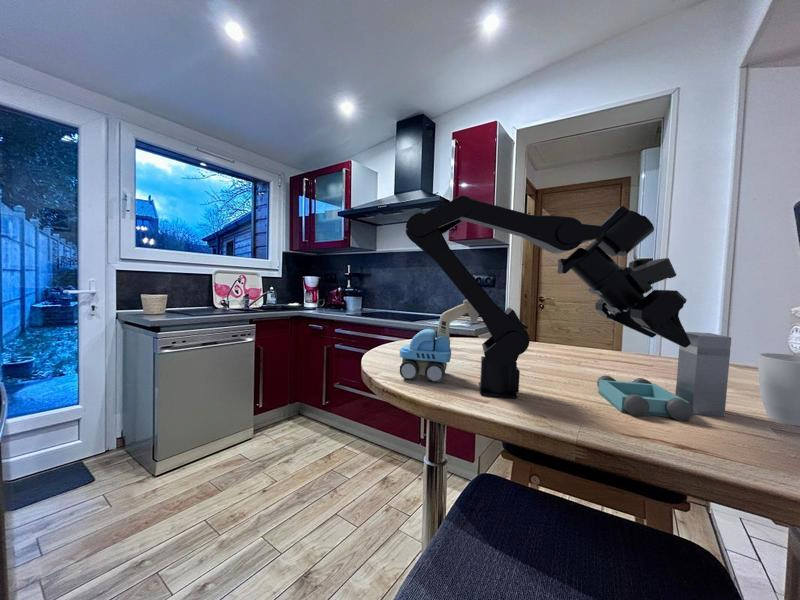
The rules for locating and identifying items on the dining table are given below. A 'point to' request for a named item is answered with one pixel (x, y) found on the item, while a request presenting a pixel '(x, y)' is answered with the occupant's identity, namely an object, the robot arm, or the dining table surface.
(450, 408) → the dining table surface
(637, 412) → the chassis
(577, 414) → the dining table surface
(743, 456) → the dining table surface
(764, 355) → the cup
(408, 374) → the toy excavator
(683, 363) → the grey tall block
